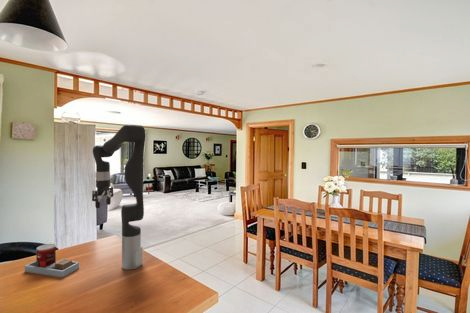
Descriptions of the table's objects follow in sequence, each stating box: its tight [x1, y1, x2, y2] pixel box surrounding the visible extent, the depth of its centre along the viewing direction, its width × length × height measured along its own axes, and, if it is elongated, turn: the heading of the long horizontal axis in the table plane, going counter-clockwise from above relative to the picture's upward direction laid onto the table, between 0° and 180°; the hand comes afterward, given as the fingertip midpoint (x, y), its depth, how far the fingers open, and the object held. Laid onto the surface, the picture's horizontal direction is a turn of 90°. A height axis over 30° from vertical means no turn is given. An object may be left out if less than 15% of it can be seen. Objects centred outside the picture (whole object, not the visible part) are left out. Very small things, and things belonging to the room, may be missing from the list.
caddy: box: [24, 257, 80, 278], centre depth 125 cm, size 23×12×3 cm, turn 78°
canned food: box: [35, 243, 57, 268], centre depth 127 cm, size 8×8×11 cm
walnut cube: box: [55, 258, 73, 270], centre depth 123 cm, size 5×5×5 cm
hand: (103, 206), depth 144 cm, fingers open, 8 cm apart
